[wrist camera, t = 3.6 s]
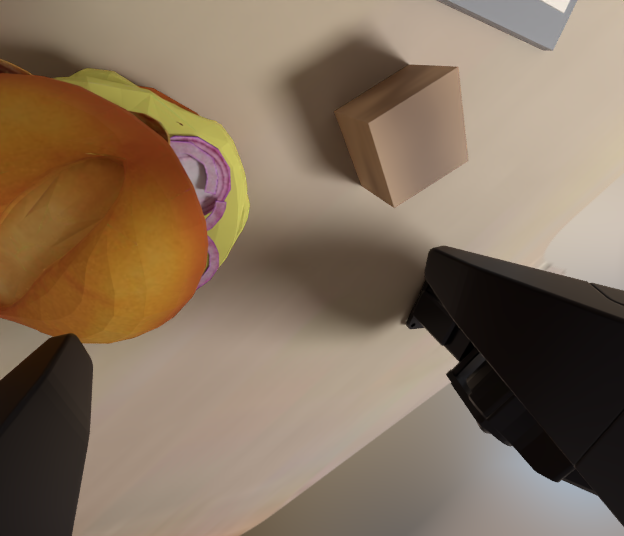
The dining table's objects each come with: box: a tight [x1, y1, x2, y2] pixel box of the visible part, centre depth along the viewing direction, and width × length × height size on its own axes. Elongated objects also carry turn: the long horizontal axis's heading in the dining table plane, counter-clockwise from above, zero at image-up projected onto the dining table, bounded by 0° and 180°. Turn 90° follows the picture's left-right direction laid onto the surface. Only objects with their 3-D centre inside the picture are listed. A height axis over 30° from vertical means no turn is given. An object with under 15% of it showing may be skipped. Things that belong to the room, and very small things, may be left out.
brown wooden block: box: [334, 65, 468, 208], centre depth 18 cm, size 5×5×4 cm
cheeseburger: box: [0, 59, 250, 344], centre depth 13 cm, size 10×11×10 cm
